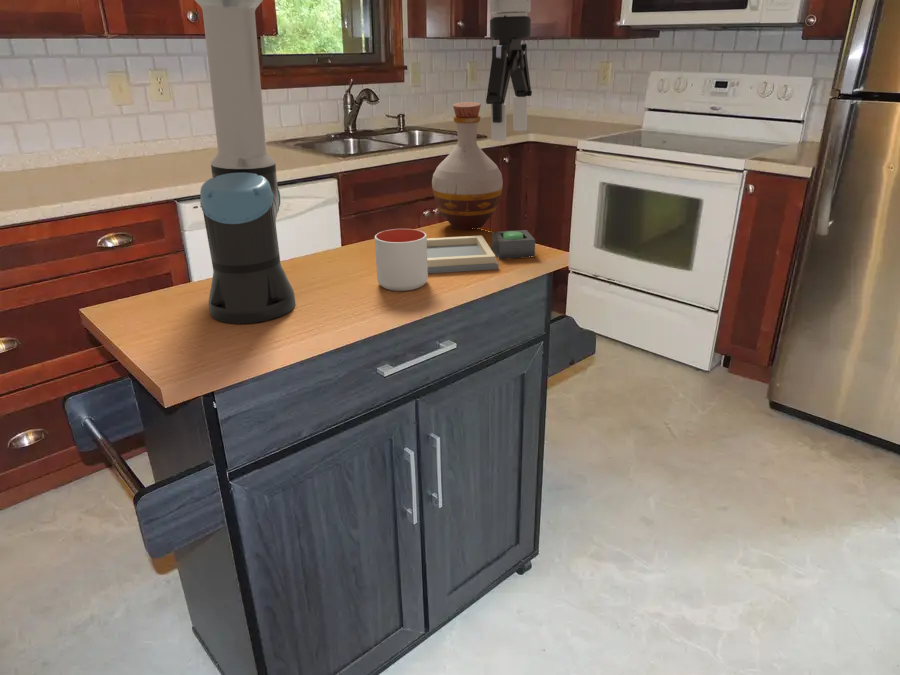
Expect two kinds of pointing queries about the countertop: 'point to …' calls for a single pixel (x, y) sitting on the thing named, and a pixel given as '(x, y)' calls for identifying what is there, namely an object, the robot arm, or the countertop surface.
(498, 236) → the dark grey square box
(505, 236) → the button
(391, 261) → the cup
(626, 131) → the countertop surface
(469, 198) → the jug
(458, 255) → the tray
